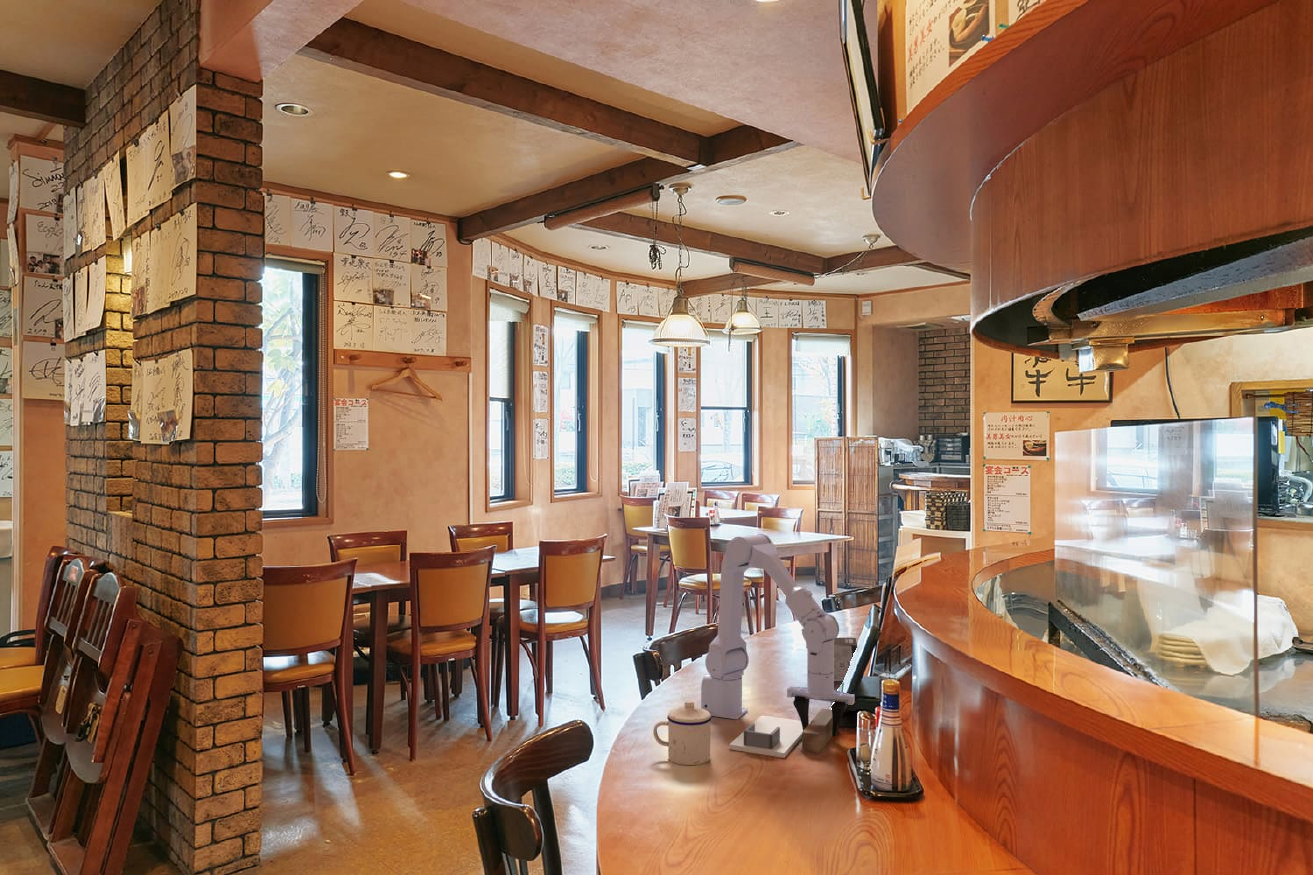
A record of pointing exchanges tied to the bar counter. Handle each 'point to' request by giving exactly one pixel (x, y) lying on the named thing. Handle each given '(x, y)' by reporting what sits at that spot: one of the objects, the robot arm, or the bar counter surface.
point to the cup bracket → (769, 736)
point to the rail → (817, 732)
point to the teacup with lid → (687, 734)
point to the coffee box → (842, 658)
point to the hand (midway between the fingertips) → (820, 733)
